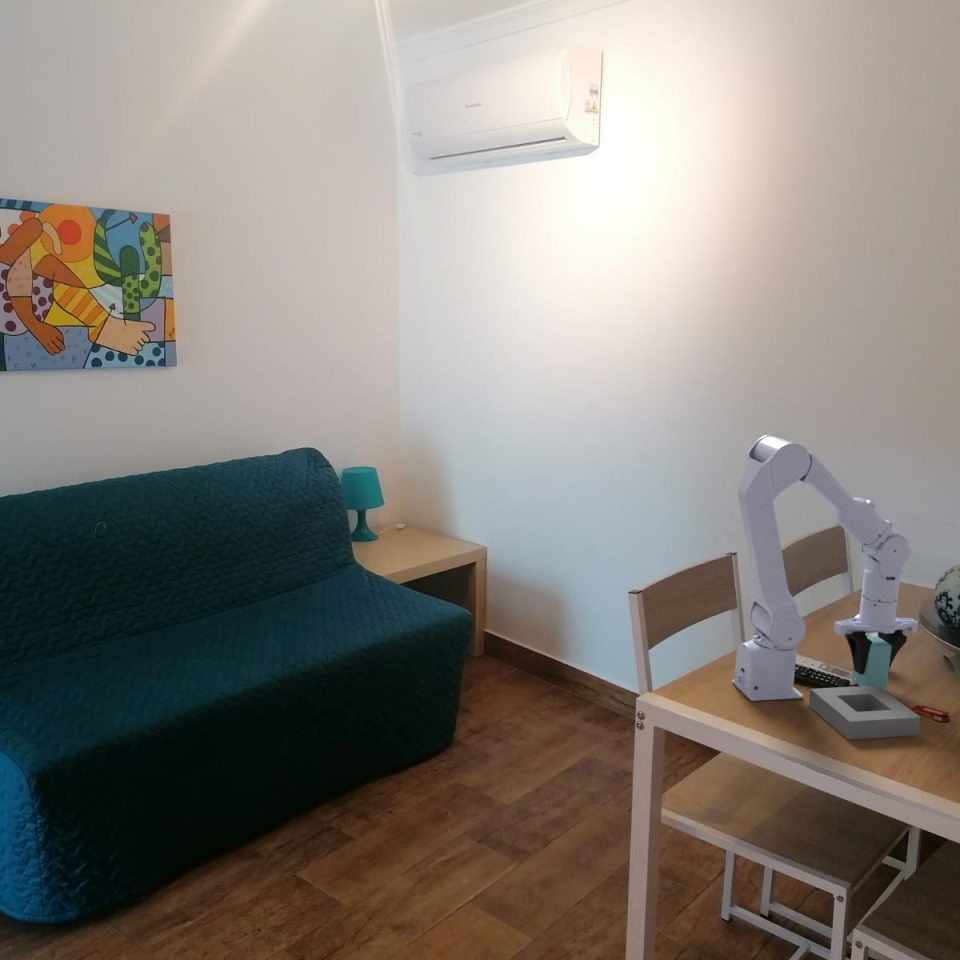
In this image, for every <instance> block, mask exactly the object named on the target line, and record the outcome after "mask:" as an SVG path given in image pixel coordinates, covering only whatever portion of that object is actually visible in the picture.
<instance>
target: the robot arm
mask: <svg viewBox="0 0 960 960" xmlns="http://www.w3.org/2000/svg"><path fill="white" fill-rule="evenodd" d="M798 481H800V482H802V483H805V484H808V485H809V486H810V487H811V488H812V489H813V490H815V492H816V493H818V494H819V495H820V497H822V499H824V500H825V501H826V502H827V503H828V504H829V505H830V506H831V507H832V508H833V509H834V510H835V511H836V512H835V513H836V514H835V520H836V522H837V524H838V525H840V527H842V529H843V530H845V532H846V533H847V534H848V535H849V536H850V537H852V539H853V540H854V541H855V542H856V543H857V544H858V545H859V548H860V551H861V553H863V554H865V561H864V571H863V580H862V588H861V597H860V598H861V599H860V604H859V605H860V606H859V617H856V618H855V617H853V618H848V619H844V620H836V621H835V620H834V627H833V628H834V629H833V632H834V633H835V634H837V636H844V638H845V640H846V641H847V643H848V646H849V650H850V652H851V657H852V662H853V663H852V664H853V671H854V670H855V671H856V672H857V673H859V674H864V672H865V668H866V661H867V655H868V652H869V649H870V646H871V644H872V641H871V640H869V639H868V638H867V635H866V633H878V636H877V637H879V638H881V639H883V640H884V641H886V642H887V643H889V644H890V645H892V647H891V656H890V664H889V670H890V669H891V666H892V665H893V662H894V659H895V658H896V656H897V654H898V653H899V651H900V650H901V648H902V647H904V646H905V644H907V641H908V636H907V635H905V634H903V633H904V632H910V633H917V632H918V625H919V622H918V620H915V619H913V618H911V617H909V618H907V617H896V614H897V606H898V605H897V604H898V600H899V599H898V598H899V591H900V590H899V589H900V582H901V575H902V572H903V567H904V565H905V564H906V563H907V561H908V560H909V559H910V558H911V554H912V550H911V549H910V547H909V542H908V540H907V539H906V537H905V536H903V534H900V533H898V532H896V531H894V530H893V529H892V527H893V524H892V523H891V521H890V520H887V519H884V518H883V517H882V516H881V515H880V514H879V513H878V512H877V511H876V510H875V508H876V504H875V503H874V502H873V501H871V500H869V499H864V498H862V497H852V496H851V494H849V492H848V491H847V490H846V489H845V488H844V487H843V486H842V485H841V484H840V483H839V481H838V480H837V479H836V478H835V477H834V475H833V474H832V473H831V472H830V471H829V469H827V467H826V466H825V465H824V464H823V463H822V462H821V461H820V460H819V458H818V457H817V456H815V455H814V454H812V453H811V452H809V451H808V448H806V447H805V446H803V445H802V444H800V443H797V442H792V441H789V440H786V439H784V438H781V436H779V435H777V434H776V435H775V434H766V435H763V436H761V437H760V438H758V439H757V440H756V441H755V442H754V443H753V444H752V446H751V447H750V448H749V450H747V452H746V464H745V467H744V471H743V473H742V477H741V481H740V483H739V486H738V493H737V495H738V501H739V506H740V512H741V516H742V517H741V518H742V522H743V523H742V524H743V528H744V534H745V539H746V546H747V550H748V556H749V561H750V567H751V572H752V577H753V578H752V579H753V583H754V588H755V590H753V591H752V592H751V594H750V598H751V606H750V609H749V613H748V617H749V621H750V623H751V625H752V626H753V627H754V632H753V638H752V639H750V640H748V641H744V642H741V643H739V644H738V646H737V649H736V652H735V664H734V677H733V679H732V681H731V682H732V684H734V685H735V687H736V688H738V690H739V691H741V692H742V693H743V694H744V695H745V696H746V697H747V698H748V699H749V700H750V701H752V702H755V701H757V702H758V701H771V700H772V701H774V700H790V699H802V698H804V695H803V693H802V692H800V691H799V690H798V689H797V688H796V687H794V684H795V683H794V682H795V672H796V662H797V661H796V660H797V649H798V645H799V644H800V643H802V641H803V640H804V638H805V636H806V633H807V626H806V623H805V622H806V621H804V619H803V618H802V617H801V615H800V614H799V612H798V608H797V603H796V602H795V599H794V598H793V596H792V594H791V592H790V590H789V587H788V579H787V575H786V569H785V563H784V557H783V553H782V547H781V545H782V544H781V541H780V535H779V530H778V524H777V516H776V512H775V507H774V501H775V500H776V498H777V497H778V496H779V495H780V494H781V493H782V492H784V491H785V490H786V489H788V488H789V487H791V486H792V485H793V484H795V483H796V482H798Z"/></svg>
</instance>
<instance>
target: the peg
mask: <svg viewBox="0 0 960 960" xmlns="http://www.w3.org/2000/svg"><path fill="white" fill-rule="evenodd" d="M867 638H868V639H869V640H871V641H872V644H871V646H870V649H869V652H868V655H867V661H866V668H865V672H864V674H859V673H857V672H856V671H855V670H854V669H853V672H852V673H853V674H852V675H853V676H852V681H853V682H854V683H856V685H858V686H872V685H877V686H878V687H879V688H881V689H882V690H887V689H888V680H889V671H890V669H889V664H890V656H891V647H892V645H890V644H889V643H887V642H886V641H884V640H883V639H881V638H879V637H878V636H877V637H867ZM854 678H855V679H856V680H855V679H854Z"/></svg>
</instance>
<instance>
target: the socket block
mask: <svg viewBox="0 0 960 960" xmlns="http://www.w3.org/2000/svg"><path fill="white" fill-rule="evenodd" d="M808 697H809V698H808V707H810V708H811V710H812V711H814V712H815V713H816V714H818V715H819V716H820V717H821V718H822V719H823V720H824V721H826V722H827V724H829V725H830V726H831V727H833V728H834V730H836V731H837V732H838V733H840V735H842V736H843V737H844V738H845V739H847V740H862V739H879V738H891V737H892V738H893V737H908V736H909V737H910V736H919V733H920V725H921V716H920V715H919V714H917V713H916V712H914V711H912V710H911V709H910V708H909V707H907V706H906V705H904V704H903V703H902V702H900V701H899V700H898V699H896V698H894V697H893V696H892V695H890V694H889V693H887V692H886V691H885V689H881V688H879V687H878V686H877V685H872V686H859V685H858V686H857V685H856V686H839V687H837V686H836V687H822V688H819V687H818V688H810V689H809V696H808Z"/></svg>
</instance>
